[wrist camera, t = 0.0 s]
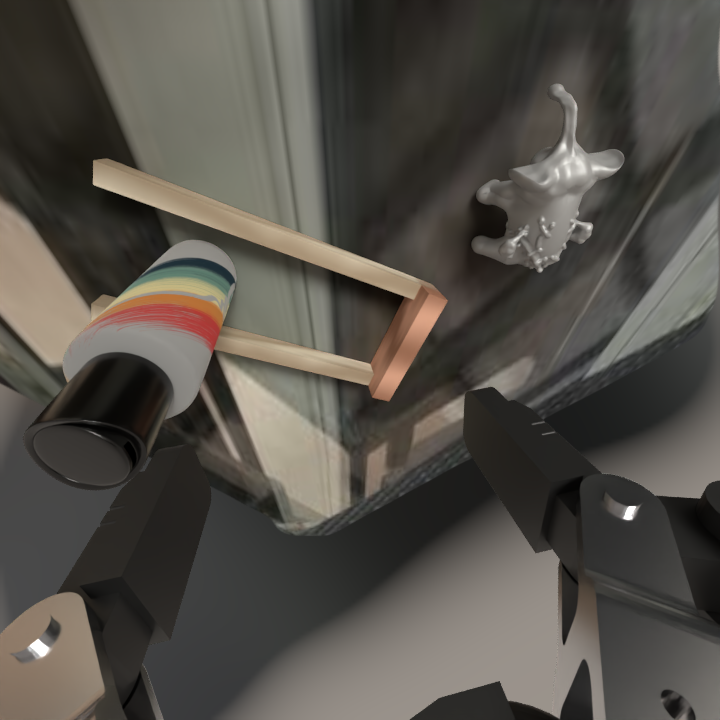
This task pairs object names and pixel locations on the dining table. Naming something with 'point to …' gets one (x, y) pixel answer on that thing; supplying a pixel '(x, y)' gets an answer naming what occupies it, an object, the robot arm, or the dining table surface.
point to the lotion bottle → (134, 369)
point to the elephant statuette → (546, 197)
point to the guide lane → (419, 295)
